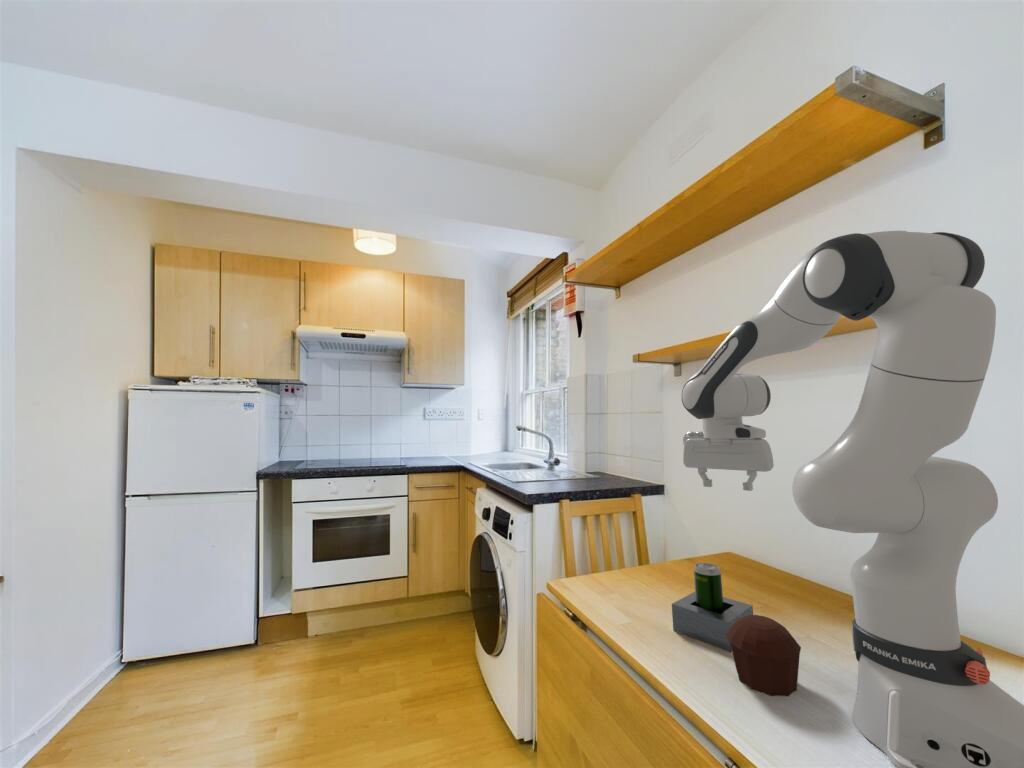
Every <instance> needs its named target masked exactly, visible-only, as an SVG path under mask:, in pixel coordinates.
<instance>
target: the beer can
mask: <svg viewBox="0 0 1024 768" xmlns="http://www.w3.org/2000/svg"><path fill="white" fill-rule="evenodd" d="M693 573H694V574H693V575H694V576H693V577H694V588H695V589H694V592H695V593H696V606H697V607H700V608H703V609H706V610H709V611H712V612H715V613H719V614H721V613H723V612H724V607H723V597H724V596H723V584H722V572H721V570H720V566H718V565H716V564H713V563H708V562H699V563H695V564H694V569H693Z"/></svg>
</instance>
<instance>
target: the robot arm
mask: <svg viewBox="0 0 1024 768" xmlns="http://www.w3.org/2000/svg"><path fill="white" fill-rule="evenodd" d="M985 261H986V259H985V254H984V252H983V250H982V248H981V247H980V246H979V244H977V242H975V241H974V240H973V239H970V238H968V237H965V236H962V235H960V234H956V233H951V232H945V231H943V232H941V231H938V232H921V231H920V232H918V231H906V230H888V231H887V230H885V231H875V232H869V233H857V232H856V233H855V232H854V233H849V234H845V235H840V236H837V237H833V238H831V239H829V240H826V241H824V242H822V243H821V244H819V245H818V246H816V247H815V246H814V247H813V248H812V249H810V250H809V251H807V253H806V254H805V255H804V256H802V258H801V259H800V260H799V261H798V262H797V263H796V264H795V266H793V268H792V269H791V270H790V272H789V273H788V274H787V275H786V276H785V277H784V279H783V280H782V282H781V283H780V285H779V286H778V287H777V288H776V291H775V292H774V293H773V295H772V297H771V298H770V299H769V300H768V302H766V303H765V305H763V307H761V308H760V309H759V310H758V311H757V312H756V313H754V315H752V316H751V317H750V318H748V319H747V320H746V321H744V322H742V323H741V324H739V325H737V326H736V327H735V328H734V329H733V330H732V331H731V332H730V333H729V334H728V335H727V336H726V337H725V338H724V340H723V341H722V342H721V344H719V346H718V347H717V348H716V350H715V351H714V352H713V353H712V355H711V356H710V357H709V358H708V360H706V362H705V363H704V365H703V366H702V367H701V368H700V369H699V370H698V371H697V372H696V373H694V374H693V375H692V376H691V377H690V378H688V379H687V380H686V382H685V384H684V385H683V386H682V387H683V388H682V391H681V402H682V405H683V407H684V409H685V410H686V411H687V412H688V413H689V414H690V415H691V416H693V417H694V418H695V419H697V420H702V431H688V432H687V433H685V435H684V436H683V437H682V438H683V439H682V442H683V458H682V462H683V464H684V466H685V468H691V469H697V474H698V475H699V477H700V478H701V480H702V485H703V487H704V488H712V487H713V479H711V478H710V479H709V477H708V474H707V473H708V470H709V469H710V470H724V471H725V470H727V471H744V472H745V471H746V476H749V477H748V478H747V481H746V482H742V486H743V487H742V488H743V490H744V491H747V492H748V491H749V492H751V491H754V490H753V489H754V486H753V485H754V484H753V483H754V482H755V480H756V479H757V476H758V472H765V473H766V472H771V471H772V469H773V468H774V465H775V464H774V457H773V452H772V448H771V446H770V443H769V442H768V440H766V439H765V438H766V437H767V432H766V430H765V429H763V428H760V427H756V426H753V425H748V424H745V423H743V417H753V416H754V417H755V416H759V415H762V414H763V413H764V412H765V411H766V410H767V409H768V408H769V406H770V403H771V398H772V397H771V390H770V386H769V385H768V383H767V381H766V380H765V379H764V378H763V377H761V376H760V375H754V374H750V373H745V372H742V371H739V370H740V369H741V368H742V367H744V366H745V365H747V364H749V363H751V362H753V361H757V360H759V359H763V358H765V357H771V356H775V355H781V354H785V353H786V354H787V353H792V352H797V351H801V350H804V349H807V348H809V347H812V346H813V345H815V343H818V342H819V341H820V340H821V339H822V338H824V337H825V336H826V335H827V334H828V333H829V332H831V330H832V329H833V328H834V326H835V325H836V323H838V321H839V320H840V318H841V317H842V316H844V317H845V318H847V319H849V320H851V321H855V322H856V321H857V322H858V321H860V320H864V319H865V318H867V317H869V318H871V320H872V321H873V322H874V323H875V325H876V329H877V340H876V346H875V348H874V350H873V351H874V352H873V355H872V359H871V362H870V366H869V369H868V375H867V378H866V381H865V385H864V389H863V392H862V395H861V399H860V401H859V405H858V407H857V410H856V412H855V414H854V416H853V418H852V420H851V421H850V423H848V426H847V427H846V428H845V430H844V431H843V432H842V434H841V435H840V436H839V437H838V438H837V439H836V441H835V442H834V443H832V445H831V446H830V447H829V448H827V449H826V450H825V451H824V452H823V453H822V454H820V455H819V456H818V457H816V458H814V459H813V460H810V461H809V462H806V463H805V464H802V466H800V467H799V469H798V470H797V471H796V473H795V475H794V478H793V482H792V496H793V500H794V502H795V504H796V507H797V508H798V510H799V511H800V513H801V515H803V517H805V519H807V520H808V521H809V522H810V523H811V524H813V525H814V526H816V527H819V528H823V529H828V530H833V531H838V532H845V533H850V534H878V535H877V537H876V539H875V541H874V543H873V545H872V546H871V548H870V549H869V551H867V552H866V553H864V554H862V556H860V557H859V558H858V559H857V560H855V561H854V563H853V564H852V566H851V569H850V574H849V575H850V583H851V584H850V585H851V590H852V592H851V593H852V602H853V603H852V604H853V610H854V619H853V620H852V621H851V623H852V624H851V625H852V626H851V635H852V644H853V651H854V652H855V659H856V661H857V662H858V663H857V665H858V666H857V670H858V671H857V673H858V674H857V689H856V690H857V691H856V697H855V702H854V705H853V710H852V713H851V718H852V721H853V723H854V725H855V727H856V728H857V729H858V730H859V732H860V733H861V734H862V735H863V736H864V737H865V738H866V739H867V740H868V741H870V742H871V743H873V745H875V746H876V747H878V748H879V749H880V750H881V751H883V753H884V754H885V755H886V757H887V758H888V759H889V760H890V761H891V763H892V764H893V765H894V766H895V767H896V768H1024V704H1022V703H1021V702H1020V701H1018V699H1015V698H1014V697H1013V696H1012V695H1010V694H1009V693H1008V692H1006V691H1005V690H1004V689H1002V688H1001V687H1000V686H998V685H997V684H996V683H995V682H993V681H992V680H991V679H990V678H991V672H990V670H989V668H988V666H987V661H986V658H985V656H983V655H984V653H983V651H982V650H981V648H980V647H976V648H977V649H976V650H975V649H974V648H973V647H971V646H970V645H968V644H966V643H965V642H964V641H962V640H961V633H960V632H961V631H960V624H959V615H958V605H957V603H958V602H957V593H956V592H957V590H956V588H957V577H958V573H959V568H960V564H961V562H962V558H963V556H964V553H965V551H966V549H967V546H968V545H969V543H970V542H971V540H972V538H973V536H974V535H975V534H976V533H977V532H978V531H979V529H981V528H982V527H984V525H986V524H987V523H989V522H990V521H991V520H992V519H993V518H994V516H995V515H996V513H997V510H998V507H999V500H998V499H999V497H998V494H997V490H996V487H995V486H994V484H993V482H992V481H991V479H990V478H989V477H988V476H987V475H986V474H985V473H984V471H982V470H980V469H979V468H978V467H976V466H975V465H972V464H971V463H968V462H964V461H960V460H955V459H950V458H945V457H938V456H933V455H934V454H936V453H937V452H939V451H941V449H944V448H946V447H948V446H950V445H952V444H953V443H955V442H956V441H958V440H959V439H960V438H962V437H963V436H964V434H965V433H966V432H967V430H968V428H969V424H970V421H971V419H972V416H973V413H974V410H975V408H976V405H977V402H978V399H979V396H980V393H981V390H982V387H983V384H984V381H985V378H986V375H987V371H988V369H989V365H990V362H991V356H992V353H993V346H994V343H995V342H994V341H995V334H996V333H995V332H996V322H997V321H996V320H997V309H996V308H997V307H996V305H995V302H994V301H993V299H992V298H991V297H990V295H987V294H986V293H984V292H982V291H981V290H978V289H976V288H975V287H976V286H977V284H978V283H979V281H980V279H981V278H982V277H983V274H984V270H985V264H986V262H985Z"/></svg>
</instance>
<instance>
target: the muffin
mask: <svg viewBox="0 0 1024 768" xmlns="http://www.w3.org/2000/svg"><path fill="white" fill-rule="evenodd" d="M726 636H727V638H728V640H729V642H730V644H731V648H732V651H731V653H732V656H733V660H734V665H735V669H736V672H737V675H738V676H737V678H738V680H739V681H740V682H741V683H742V684H744V685H746V686H747V687H748V688H749V689H751V690H752V691H755V692H759V693H762V694H764V695H766V696H767V695H768V696H770V697H790V696H791V695H792V694H793V693H795V692H796V691H797V688H798V679H799V678H798V677H799V665H800V654H801V649H802V647H801V645H800V644H799V643H798V641H797V640H796V638H794V637H793V636H792V634H791V633H790V631H789V630H788V629H787V628H786V627H785V626H784V625H783V624H781V623H779V622H777V621H776V620H774V619H772V618H770V617H768V616H764V615H759V614H753V615H748V616H745V617H742V618H740V619H738V620H736V621H735V622H734V624H733V625H732V626H731V627H730V629H729V630H728V631H727V633H726ZM790 694H791V695H790Z"/></svg>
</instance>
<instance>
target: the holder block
mask: <svg viewBox="0 0 1024 768" xmlns="http://www.w3.org/2000/svg"><path fill="white" fill-rule="evenodd" d="M723 607H724V612H723V613H721V614H719V613H715V612H712V611H709V610H706V609H703V608H700V607H697V606H696V593H695V591H693V592H692V593H690V594H687V595H686V596H684V597H682V598H679V600H676V601H675V602H673V603H671V612H672V613H671V614H672V615H671V616H672V629H673V631H674V632H676V633H679V634H682V635H683V636H684V635H685V636H687V637H690V638H693V639H695V640H698V641H700V642H703V643H705V644H708V645H711V646H713V647H715V648H719V649H721V650H723V651H726V652H728V653H732V648H731V644H730V642H729V640H728V638H727V636H726V633H727V631H728V630H729V629H730V627H731V626H732V625H733V624H734V622H735V621H736V620H738V619H740V618H742V617H745V616H748V615H754V607H753V604H750V603H746V602H742V601H739V600H735V599H731V598H727V597H725V596H723Z"/></svg>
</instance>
